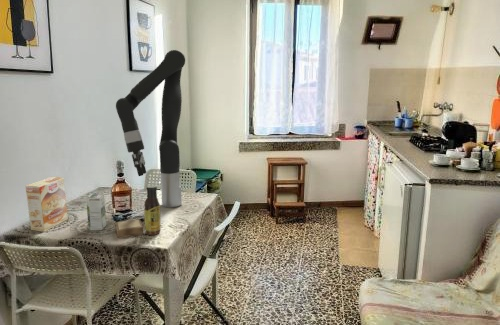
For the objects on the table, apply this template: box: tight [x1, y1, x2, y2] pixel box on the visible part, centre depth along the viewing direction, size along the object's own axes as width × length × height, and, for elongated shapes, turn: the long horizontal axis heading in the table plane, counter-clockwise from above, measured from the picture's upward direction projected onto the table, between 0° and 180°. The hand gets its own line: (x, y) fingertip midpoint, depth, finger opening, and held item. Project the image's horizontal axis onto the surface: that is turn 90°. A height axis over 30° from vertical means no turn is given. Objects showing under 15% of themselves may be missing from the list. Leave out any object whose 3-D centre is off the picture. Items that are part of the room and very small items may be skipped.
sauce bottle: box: [143, 184, 162, 236], centre depth 153 cm, size 6×6×20 cm
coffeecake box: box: [25, 176, 69, 232], centre depth 161 cm, size 15×7×20 cm, turn 168°
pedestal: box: [115, 218, 144, 239], centre depth 156 cm, size 10×10×3 cm
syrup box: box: [86, 193, 107, 231], centre depth 158 cm, size 6×6×14 cm
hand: (142, 174), depth 176 cm, fingers open, 8 cm apart
